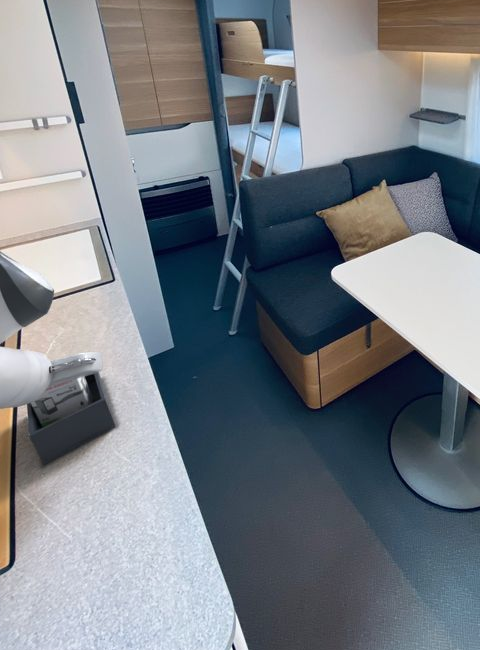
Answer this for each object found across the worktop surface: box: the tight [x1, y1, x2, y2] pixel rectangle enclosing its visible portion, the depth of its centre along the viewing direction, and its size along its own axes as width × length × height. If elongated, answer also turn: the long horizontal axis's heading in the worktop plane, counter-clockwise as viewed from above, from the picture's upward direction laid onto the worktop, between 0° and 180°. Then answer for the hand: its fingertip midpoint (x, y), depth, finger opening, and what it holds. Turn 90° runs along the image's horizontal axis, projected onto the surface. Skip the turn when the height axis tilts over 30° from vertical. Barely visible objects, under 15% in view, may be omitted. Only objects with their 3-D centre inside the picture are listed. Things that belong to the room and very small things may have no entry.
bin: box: [26, 372, 116, 465], centre depth 86 cm, size 16×12×8 cm
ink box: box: [31, 377, 93, 428], centre depth 85 cm, size 9×5×12 cm, turn 120°
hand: (52, 379), depth 81 cm, fingers open, 8 cm apart
